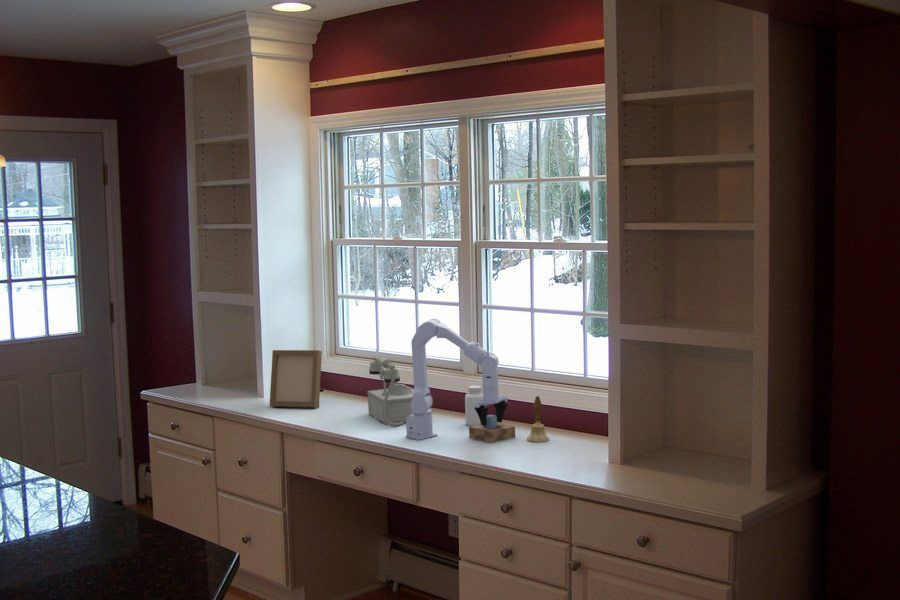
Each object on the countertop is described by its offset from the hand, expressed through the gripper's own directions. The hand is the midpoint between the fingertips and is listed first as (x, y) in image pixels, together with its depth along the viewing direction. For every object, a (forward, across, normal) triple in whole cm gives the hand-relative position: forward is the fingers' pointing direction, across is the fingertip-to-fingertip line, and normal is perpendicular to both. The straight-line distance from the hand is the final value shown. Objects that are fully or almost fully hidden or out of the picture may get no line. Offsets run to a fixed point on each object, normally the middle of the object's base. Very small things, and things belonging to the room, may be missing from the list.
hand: (491, 423), depth 360 cm
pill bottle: (+5, +10, +21) cm, 24 cm away
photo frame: (+6, -18, +109) cm, 111 cm away
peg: (+5, 0, 0) cm, 5 cm away
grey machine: (+6, -4, +54) cm, 55 cm away
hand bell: (+5, +9, -15) cm, 18 cm away
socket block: (+5, 0, 0) cm, 5 cm away
